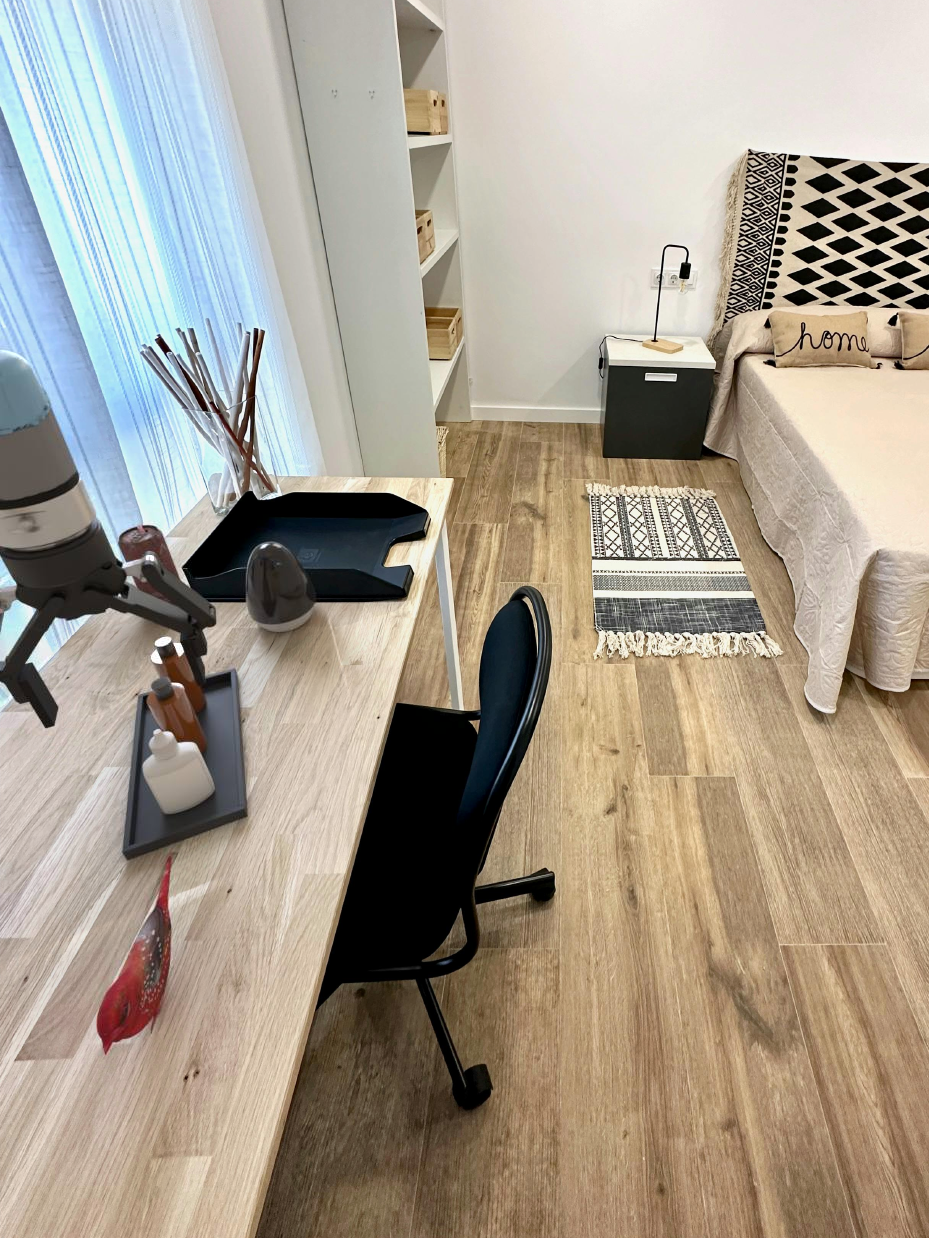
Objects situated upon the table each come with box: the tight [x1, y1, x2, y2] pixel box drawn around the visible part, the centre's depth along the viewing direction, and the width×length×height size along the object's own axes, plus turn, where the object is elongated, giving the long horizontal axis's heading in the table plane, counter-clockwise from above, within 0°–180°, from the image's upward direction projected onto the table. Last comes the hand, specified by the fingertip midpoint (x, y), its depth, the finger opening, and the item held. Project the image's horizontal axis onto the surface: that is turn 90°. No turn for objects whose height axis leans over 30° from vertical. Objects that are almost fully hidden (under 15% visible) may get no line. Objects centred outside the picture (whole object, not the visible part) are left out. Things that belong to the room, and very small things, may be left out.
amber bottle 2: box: [147, 677, 207, 754], centre depth 79 cm, size 4×4×12 cm
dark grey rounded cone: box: [244, 541, 317, 633], centre depth 101 cm, size 10×10×15 cm
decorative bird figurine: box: [96, 855, 173, 1056], centre depth 58 cm, size 3×18×10 cm, turn 15°
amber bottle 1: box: [150, 636, 207, 714], centre depth 85 cm, size 4×4×12 cm
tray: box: [121, 667, 249, 861], centre depth 82 cm, size 25×12×2 cm, turn 27°
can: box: [117, 524, 181, 607], centre depth 104 cm, size 6×6×14 cm
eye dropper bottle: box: [142, 729, 215, 814], centre depth 73 cm, size 4×6×12 cm
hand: (130, 696), depth 68 cm, fingers open, 13 cm apart
